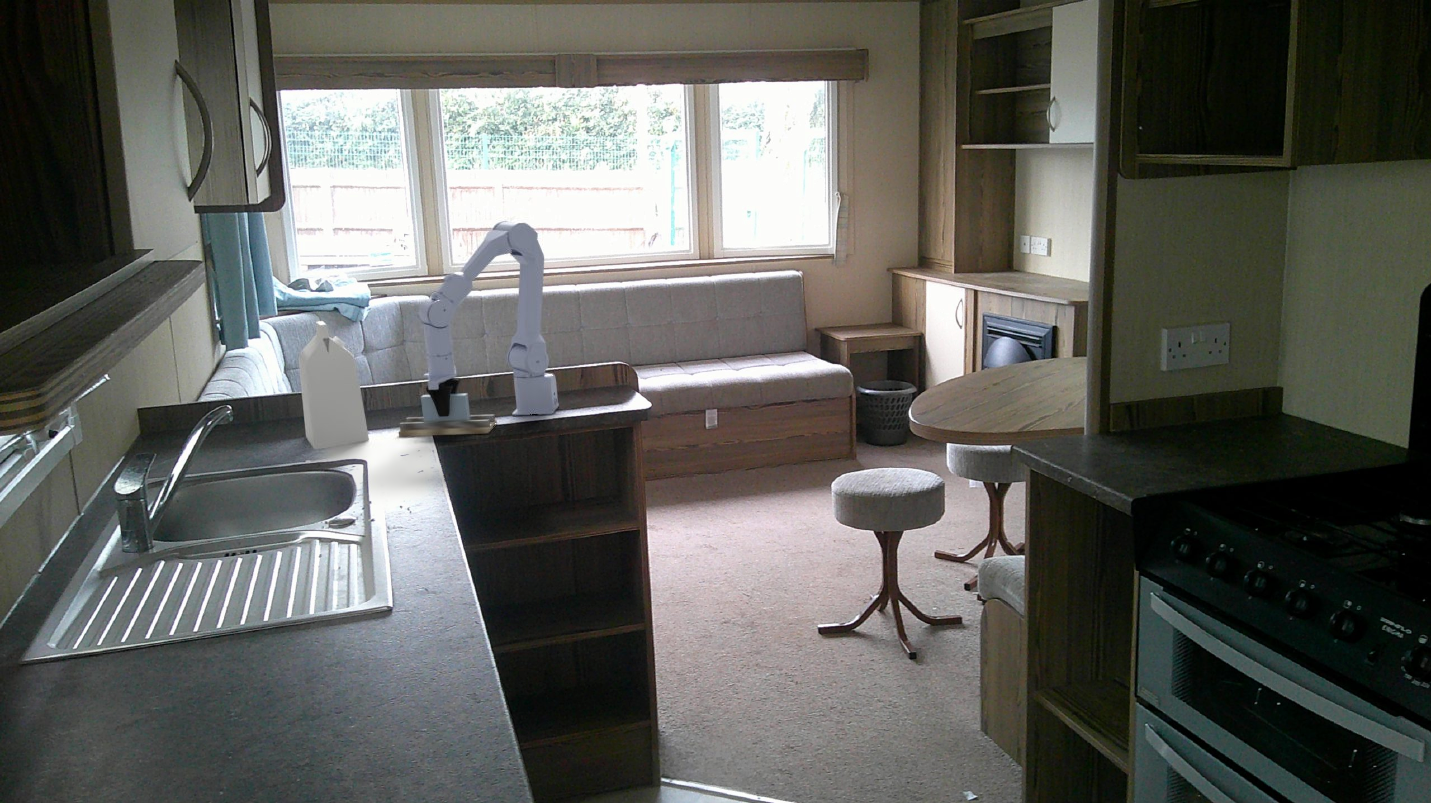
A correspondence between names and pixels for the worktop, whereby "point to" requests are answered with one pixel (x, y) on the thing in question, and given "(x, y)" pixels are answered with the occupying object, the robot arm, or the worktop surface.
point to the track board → (447, 426)
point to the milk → (331, 392)
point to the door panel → (457, 408)
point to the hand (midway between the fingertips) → (446, 413)
